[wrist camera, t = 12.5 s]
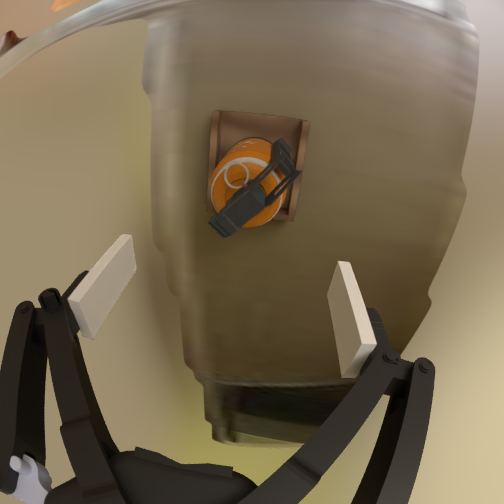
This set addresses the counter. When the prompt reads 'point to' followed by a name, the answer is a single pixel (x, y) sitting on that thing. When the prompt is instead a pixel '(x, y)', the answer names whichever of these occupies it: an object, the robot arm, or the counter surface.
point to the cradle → (265, 126)
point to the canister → (250, 184)
